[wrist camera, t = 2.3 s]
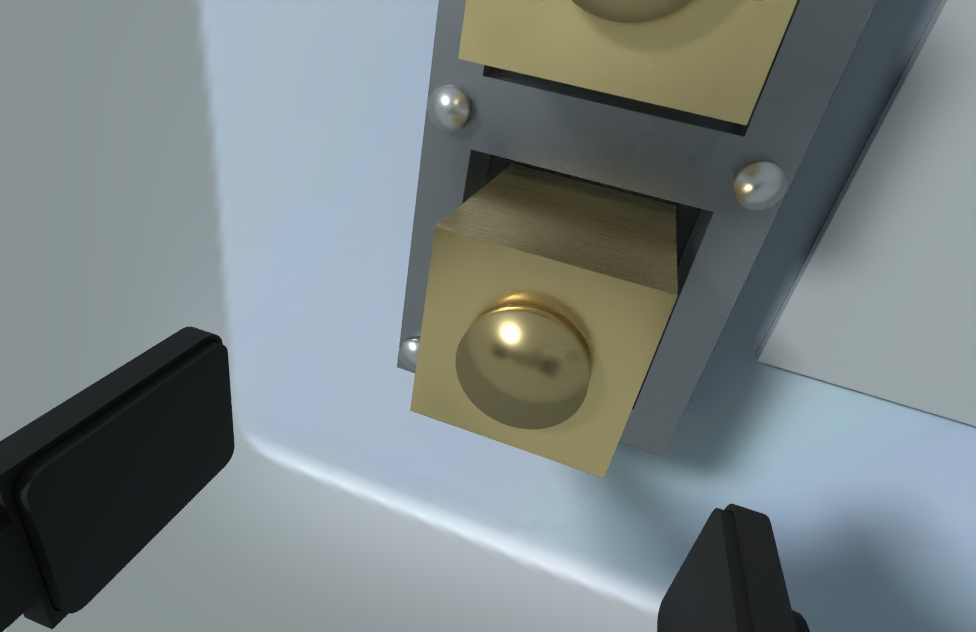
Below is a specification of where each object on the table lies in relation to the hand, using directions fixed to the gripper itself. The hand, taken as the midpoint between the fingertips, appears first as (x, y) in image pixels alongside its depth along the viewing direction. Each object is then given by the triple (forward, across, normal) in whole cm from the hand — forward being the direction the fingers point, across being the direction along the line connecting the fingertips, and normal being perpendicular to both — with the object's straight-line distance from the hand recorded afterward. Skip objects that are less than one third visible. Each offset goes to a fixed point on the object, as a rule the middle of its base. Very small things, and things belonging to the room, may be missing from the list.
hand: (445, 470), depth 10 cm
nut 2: (+11, -1, 0) cm, 11 cm away
